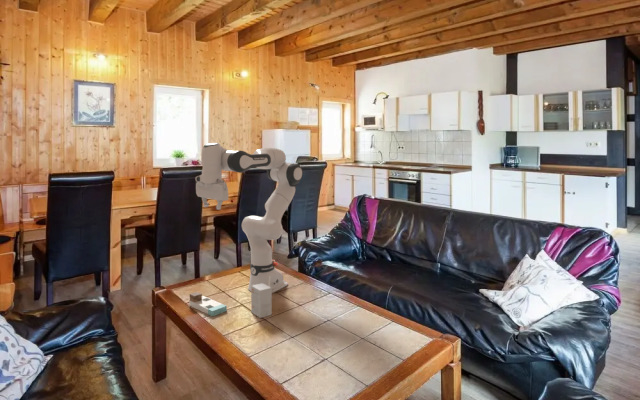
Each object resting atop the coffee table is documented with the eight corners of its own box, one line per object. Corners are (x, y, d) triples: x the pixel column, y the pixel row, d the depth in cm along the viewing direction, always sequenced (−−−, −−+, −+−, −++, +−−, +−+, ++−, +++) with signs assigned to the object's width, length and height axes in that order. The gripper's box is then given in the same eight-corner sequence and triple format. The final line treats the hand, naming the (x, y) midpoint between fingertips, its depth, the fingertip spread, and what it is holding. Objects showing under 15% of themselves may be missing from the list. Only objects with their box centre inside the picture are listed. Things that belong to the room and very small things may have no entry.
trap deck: (203, 300, 203) (203, 295, 203) (226, 310, 192) (226, 305, 191) (189, 305, 197) (189, 300, 197) (212, 316, 186) (212, 311, 185)
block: (197, 298, 200) (196, 291, 199) (201, 300, 197) (201, 293, 197) (189, 300, 197) (189, 294, 196) (194, 302, 194) (194, 296, 194)
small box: (272, 314, 189) (272, 287, 187) (260, 318, 185) (260, 290, 183) (262, 309, 195) (262, 282, 193) (250, 312, 191) (250, 285, 189)
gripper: (231, 180, 185) (231, 210, 187) (204, 176, 198) (205, 205, 200) (220, 180, 181) (220, 211, 183) (193, 177, 193) (193, 206, 195)
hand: (212, 208), depth 192 cm, fingers open, 8 cm apart
